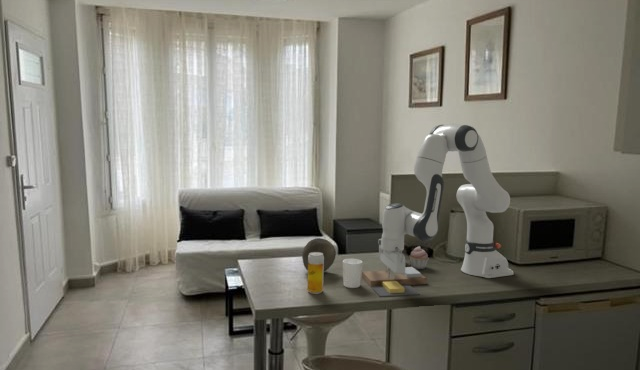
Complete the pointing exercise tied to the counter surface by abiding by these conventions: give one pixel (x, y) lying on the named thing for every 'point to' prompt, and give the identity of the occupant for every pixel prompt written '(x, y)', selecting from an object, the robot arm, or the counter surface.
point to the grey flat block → (411, 272)
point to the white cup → (352, 272)
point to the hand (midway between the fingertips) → (391, 278)
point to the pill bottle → (315, 272)
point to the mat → (384, 293)
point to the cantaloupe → (321, 247)
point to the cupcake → (418, 258)
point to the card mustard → (393, 287)
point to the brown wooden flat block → (379, 276)
